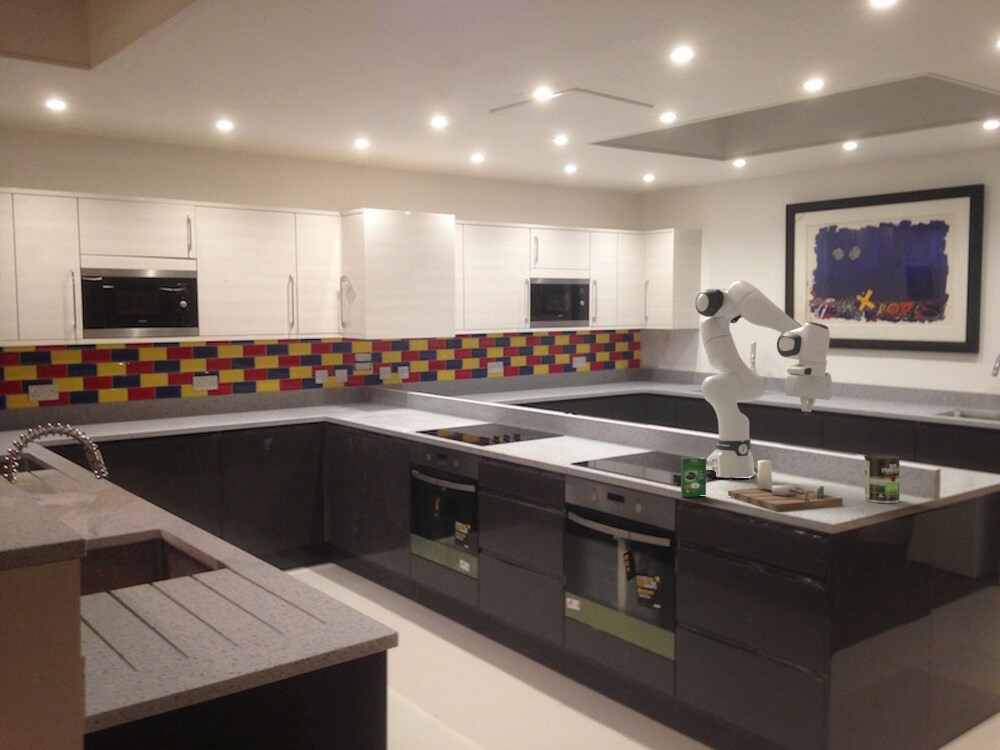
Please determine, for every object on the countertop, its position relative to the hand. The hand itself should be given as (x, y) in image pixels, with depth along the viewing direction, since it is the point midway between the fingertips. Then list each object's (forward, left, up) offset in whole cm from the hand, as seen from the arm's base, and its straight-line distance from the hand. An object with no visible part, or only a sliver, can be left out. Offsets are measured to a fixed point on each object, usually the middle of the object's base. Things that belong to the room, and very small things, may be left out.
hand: (806, 411), depth 287 cm
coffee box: (-8, -39, -27) cm, 48 cm away
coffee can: (+22, +11, -27) cm, 37 cm away
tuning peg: (+9, -17, -25) cm, 31 cm away
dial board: (+10, -17, -27) cm, 34 cm away
